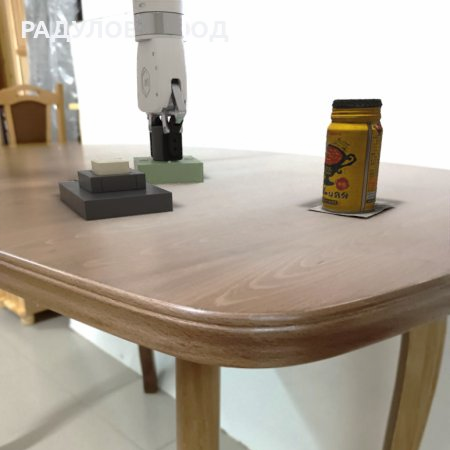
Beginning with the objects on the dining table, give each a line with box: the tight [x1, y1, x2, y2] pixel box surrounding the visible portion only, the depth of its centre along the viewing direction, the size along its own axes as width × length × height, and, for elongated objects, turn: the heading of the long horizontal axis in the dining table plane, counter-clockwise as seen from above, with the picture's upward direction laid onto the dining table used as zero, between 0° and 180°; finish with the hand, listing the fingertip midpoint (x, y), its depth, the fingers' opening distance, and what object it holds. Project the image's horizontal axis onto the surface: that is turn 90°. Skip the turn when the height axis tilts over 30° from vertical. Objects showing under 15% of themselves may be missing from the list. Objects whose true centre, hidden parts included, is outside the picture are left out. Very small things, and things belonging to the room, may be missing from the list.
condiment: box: [309, 98, 395, 218], centre depth 55 cm, size 7×8×12 cm
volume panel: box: [132, 154, 205, 185], centre depth 79 cm, size 11×10×3 cm
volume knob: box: [151, 126, 175, 161], centre depth 78 cm, size 4×4×5 cm
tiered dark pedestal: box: [58, 167, 174, 222], centre depth 59 cm, size 14×10×4 cm
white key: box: [90, 157, 130, 176], centre depth 58 cm, size 4×4×2 cm
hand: (166, 157), depth 79 cm, fingers closed on volume knob, 4 cm apart
